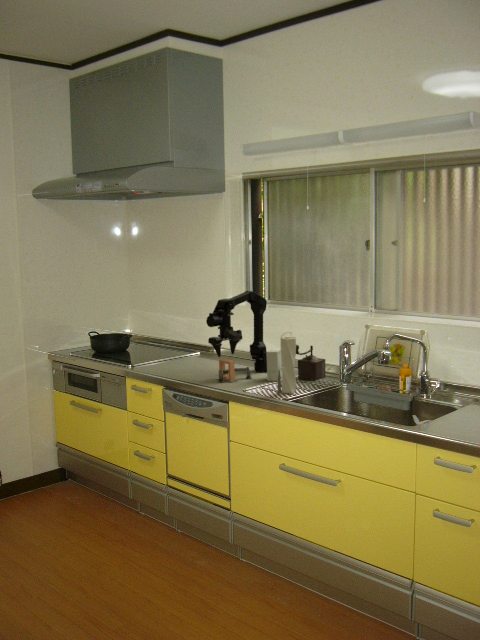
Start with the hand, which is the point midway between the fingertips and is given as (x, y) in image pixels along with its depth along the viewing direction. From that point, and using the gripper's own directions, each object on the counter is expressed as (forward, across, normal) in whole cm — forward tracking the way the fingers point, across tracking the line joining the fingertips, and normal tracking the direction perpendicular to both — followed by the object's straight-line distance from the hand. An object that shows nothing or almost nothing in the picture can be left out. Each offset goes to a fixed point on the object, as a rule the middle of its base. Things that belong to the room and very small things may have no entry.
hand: (226, 355), depth 335 cm
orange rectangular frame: (+13, 0, 0) cm, 13 cm away
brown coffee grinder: (+13, +28, -30) cm, 43 cm away
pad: (+13, 0, 0) cm, 13 cm away
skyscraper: (+13, +2, -40) cm, 42 cm away
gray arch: (+13, +3, -3) cm, 13 cm away
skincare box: (+13, +16, -18) cm, 27 cm away
